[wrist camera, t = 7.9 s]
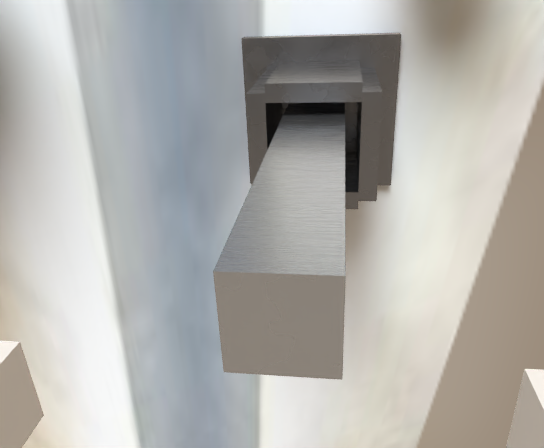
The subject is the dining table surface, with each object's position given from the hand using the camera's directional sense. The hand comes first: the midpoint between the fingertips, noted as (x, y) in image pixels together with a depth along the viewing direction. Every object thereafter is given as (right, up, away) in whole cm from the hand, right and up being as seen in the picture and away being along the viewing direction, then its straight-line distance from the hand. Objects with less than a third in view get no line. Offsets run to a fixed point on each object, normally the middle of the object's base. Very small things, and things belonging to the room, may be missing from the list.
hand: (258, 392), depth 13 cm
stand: (+4, +14, +28) cm, 32 cm away
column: (+4, +11, +23) cm, 26 cm away
